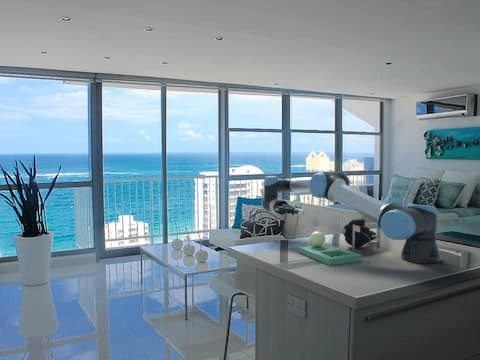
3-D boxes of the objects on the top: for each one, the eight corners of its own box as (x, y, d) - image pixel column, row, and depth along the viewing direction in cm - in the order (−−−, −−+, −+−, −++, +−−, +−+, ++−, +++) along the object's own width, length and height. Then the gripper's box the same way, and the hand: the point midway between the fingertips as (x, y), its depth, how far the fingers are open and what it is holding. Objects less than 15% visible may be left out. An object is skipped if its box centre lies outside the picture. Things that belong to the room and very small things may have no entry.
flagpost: (352, 256, 180) (352, 224, 179) (353, 256, 180) (353, 224, 180) (358, 259, 176) (359, 226, 175) (360, 258, 176) (360, 226, 176)
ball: (327, 245, 190) (327, 230, 190) (322, 249, 184) (322, 233, 183) (312, 244, 193) (312, 229, 193) (307, 247, 187) (307, 232, 186)
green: (298, 252, 189) (298, 246, 189) (327, 248, 195) (327, 243, 195) (329, 265, 167) (329, 259, 166) (361, 261, 173) (361, 255, 173)
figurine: (388, 228, 207) (363, 216, 185) (385, 255, 204) (359, 246, 182) (362, 226, 216) (335, 214, 194) (359, 251, 213) (331, 242, 191)
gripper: (290, 213, 223) (314, 219, 202) (268, 214, 218) (291, 221, 196) (290, 199, 223) (314, 204, 201) (268, 200, 218) (291, 205, 196)
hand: (302, 212), depth 199 cm, fingers closed
